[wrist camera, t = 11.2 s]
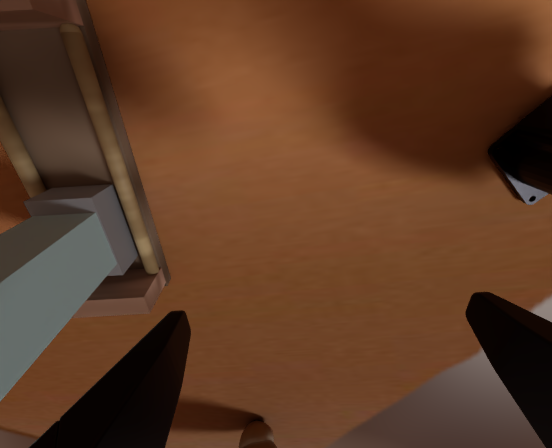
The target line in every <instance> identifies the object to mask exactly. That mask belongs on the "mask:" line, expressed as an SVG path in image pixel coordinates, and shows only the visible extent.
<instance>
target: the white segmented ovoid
mask: <svg viewBox="0 0 552 448" xmlns="http://www.w3.org/2000/svg"><path fill="white" fill-rule="evenodd" d="M239 448H277V447H276V445H275V444H274V435H273V431H272V429H271V428H270V427H269V426H268V425H267V424H266V423H264V422H261V421H253V422H251V423H250V424H249V425H248V426H247V427H246V428H245V429H244V431H243V433H242V435H241V438H240V443H239Z"/></svg>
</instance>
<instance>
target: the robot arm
mask: <svg viewBox="0 0 552 448" xmlns="http://www.w3.org/2000/svg"><path fill="white" fill-rule="evenodd" d="M498 148H499V150H498V151H497V152H496V150H497V149H498ZM488 155H489V156H490V158H491V159H492V161H493V162H494V163H495V165H496V166H497V167H498V169H499V170H500V172H501V173H502V174H503V176H504V177H505V179H506V180H507V181H508V183H509V184H510V186H511V187H512V188H513V190H514V191H515V193H516V194H517V195H518V197H519V198H520V199H521V201H522V202H523V203H526V204H528V205H531V204H534V203H536V202H537V201H539V200H540V199H541V198H543V197H544V196H546V195H547V194H551V195H552V96H551V97H550V98H549V99H547V100H546V101H545V102H544V103H542V104H541V105H540V106H539V107H537V108H536V109H535V110H534V111H533V112H531V113H530V114H529V115H528V116H526V117H525V118H524V119H523V120H522V121H520V122H519V123H518V124H517V125H516V126H514V127H513V128H512V129H511V130H510V131H508V132H507V133H506V134H505V135H503V136H502V137H501V138H500V139H499V140H497V141H496V142H495V143H494V144H492V145H491V146H490V147H489V149H488ZM530 197H531V198H530ZM466 318H467V320H468V322H469V324H470V326H471V328H472V330H473V332H474V333H475V335H476V337H477V339H478V341H479V343H480V345H481V346H482V348H483V350H484V352H485V354H486V356H487V357H488V359H489V361H490V363H491V365H492V366H493V368H494V370H495V371H496V373H497V374H498V376H499V377H500V379H501V380H502V382H503V383H504V385H505V386H506V388H507V390H508V391H509V393H510V394H511V396H512V397H513V399H514V400H515V402H516V403H517V405H518V406H519V407H520V409H521V410H522V412H523V414H524V415H525V417H526V418H527V420H528V421H529V423H530V424H531V426H532V427H533V429H534V430H535V432H536V433H537V435H538V436H539V438H540V439H541V441H542V442H543V444H544V445H545V447H546V448H552V322H550V321H548V320H546V319H544V318H542V317H539V316H537V315H535V314H533V313H531V312H529V311H527V310H525V309H523V308H521V307H519V306H517V305H515V304H513V303H511V302H509V301H507V300H505V299H503V298H501V297H499V296H496V295H494V294H492V293H490V292H476V293H474V294H473V295H472V296H471V299H470V301H469V304H468V306H467V309H466ZM190 336H191V329H190V325H189V322H188V319H187V315H186V313H185V311H183V310H181V311H171V312H170V313H168V314H167V315H166V316H165V317H164V318H163V319H162V320H161V321H160V322H159V323H158V324H157V325H156V326H155V327H154V328H153V329H152V330H151V331H150V332H149V333H148V334H147V335H146V336H145V337H143V338H142V339H141V340H140V341H139V342H138V343H137V344H136V345H135V346H134V347H133V348H132V349H131V350H130V351H129V352H128V353H127V354H126V355H125V356H124V357H123V358H122V359H121V360H120V361H119V362H118V363H116V364H115V365H114V366H113V367H112V368H111V369H110V370H109V371H108V372H107V373H106V374H105V375H104V376H103V377H102V378H101V379H100V380H99V381H98V382H97V383H96V384H95V385H94V386H93V387H92V388H91V389H90V390H88V391H87V392H86V393H85V394H84V395H83V396H82V397H81V398H80V399H79V400H78V401H77V402H76V403H75V404H74V405H73V406H72V407H71V408H70V409H69V410H68V411H67V412H66V413H65V414H64V415H63V416H62V417H61V418H60V421H56V422H55V423H54V424H53V425H52V426H51V427H50V428H49V429H48V430H47V431H46V432H45V433H44V434H43V435H42V436H41V437H40V438H38V439H37V440H36V441H35V442H34V443H33V444H32V445H31V446H30V447H29V448H165V445H166V442H167V438H168V435H169V431H170V427H171V424H172V420H173V417H174V413H175V410H176V406H177V402H178V399H179V395H180V391H181V387H182V382H183V377H184V371H185V365H186V360H187V354H188V348H189V342H190Z"/></svg>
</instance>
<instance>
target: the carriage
mask: <svg viewBox="0 0 552 448" xmlns="http://www.w3.org/2000/svg"><path fill="white" fill-rule="evenodd" d="M24 204H25V206H26V208H27V210H28V212H29V213H30V215H31V218H29V219H27V220H25V221H23V222H22V223H20V224H18V225H16V226H14V227H13V228H11V229H9V230H7V231H5V232H4V233H2V234H0V401H1V400H2V399H3V398H4V397H5V395H6V394H7V393H8V392H9V391H10V389H11V388H12V387H13V386H14V385H15V384H16V382H17V381H18V380H19V379H20V378H21V376H22V375H23V374H24V373H25V372H26V371H27V369H28V368H29V367H30V366H31V365H32V364H33V362H34V361H35V360H36V359H37V358H38V356H39V355H40V354H41V353H42V352H43V351H44V349H45V348H46V347H47V346H48V345H49V343H50V342H51V341H52V340H53V339H54V338H55V336H56V335H57V334H58V333H59V332H60V331H61V329H62V328H63V327H64V326H65V325H66V323H67V322H68V321H69V320H70V319H71V318H72V316H73V315H74V314H75V313H76V312H77V310H78V309H79V308H80V307H81V306H82V305H83V303H84V302H85V301H86V300H87V299H88V298H89V296H90V295H91V294H92V293H93V292H94V290H95V289H96V288H97V287H98V286H99V285H100V283H101V282H102V281H103V280H104V279H105V277H106V276H116V275H124V273H125V272H126V271H127V269H128V268H129V267H130V265H131V264H132V263H133V261H134V260H135V259H136V258H137V256H138V253H137V250H136V248H135V245H134V242H133V239H132V237H131V234H130V231H129V228H128V226H127V223H126V220H125V217H124V214H123V212H122V209H121V206H120V203H119V201H118V198H117V195H116V192H115V190H114V187H113V184H107V185H91V186H74V187H58V188H51V189H49V190H47V191H45V192H43V193H41V194H39V195H36V196H34V197H32V198H30V199H28V200H26V201H24Z"/></svg>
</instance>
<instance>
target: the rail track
mask: <svg viewBox="0 0 552 448" xmlns="http://www.w3.org/2000/svg"><path fill="white" fill-rule="evenodd" d="M0 142H1V144H2V145H3V147H4V149H5V151H6V153H7V155H8V157H9V159H10V161H11V162H12V164H13V166H14V168H15V170H16V172H17V174H18V176H19V178H20V179H21V181H22V183H23V185H24V187H25V189H26V191H27V193H28V195H29V197H30V198H32V197H34V196H36V195H39V194H41V193H43V192H45V191H47V190H49V189H51V188H58V187H74V186H91V185H107V184H113V187H114V190H115V192H116V195H117V198H118V201H119V203H120V206H121V209H122V212H123V214H124V217H125V220H126V223H127V226H128V228H129V231H130V234H131V237H132V239H133V242H134V245H135V248H136V250H137V253H138V256H137V258H136V259H135V260H134V261H133V263H132V264H131V265H130V267H129V268H128V269H127V271H126V272H125V273H124V275H116V276H106V277H105V279H104V280H103V281H102V282H101V283H100V285H99V286H98V287H97V288H96V289H95V290H94V292H93V293H92V294H91V295H90V296H89V298H88V299H87V300H86V301H85V302H84V303H83V305H82V306H81V307H80V308H79V309H78V310H77V312H76V313H75V314H74V315H73V316H72V318H80V317H97V316H114V315H131V314H148V313H150V312H151V310H152V308H153V306H154V305H155V303H156V301H157V299H158V297H159V295H160V293H161V291H162V289H163V287H164V286H167V285H168V283H169V281H170V279H171V277H170V274H169V271H168V267H167V264H166V261H165V258H164V254H163V251H162V248H161V245H160V241H159V238H158V235H157V231H156V228H155V225H154V222H153V218H152V215H151V212H150V209H149V205H148V202H147V199H146V196H145V192H144V189H143V186H142V183H141V179H140V176H139V173H138V170H137V166H136V163H135V160H134V156H133V153H132V150H131V147H130V143H129V140H128V137H127V134H126V130H125V127H124V124H123V121H122V117H121V114H120V111H119V108H118V104H117V101H116V98H115V95H114V91H113V88H112V85H111V82H110V78H109V75H108V72H107V68H106V65H105V62H104V59H103V55H102V52H101V49H100V46H99V42H98V39H97V36H96V33H95V29H94V26H93V23H92V20H91V16H90V13H89V10H88V7H87V3H86V0H0Z"/></svg>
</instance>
